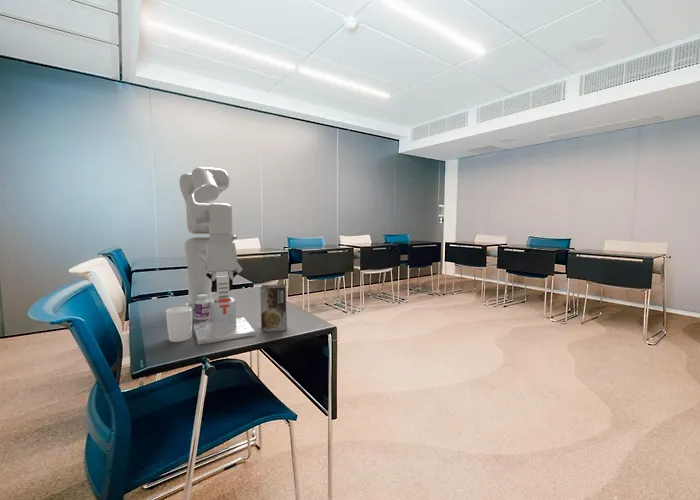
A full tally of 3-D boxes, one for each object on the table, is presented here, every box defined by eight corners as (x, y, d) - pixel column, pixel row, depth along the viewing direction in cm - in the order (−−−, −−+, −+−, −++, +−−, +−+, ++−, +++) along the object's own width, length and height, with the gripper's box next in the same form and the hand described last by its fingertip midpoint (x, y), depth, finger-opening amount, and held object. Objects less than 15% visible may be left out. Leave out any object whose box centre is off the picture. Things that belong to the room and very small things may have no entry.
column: (215, 325, 115) (214, 276, 113) (228, 323, 117) (227, 275, 116) (217, 329, 111) (216, 278, 109) (231, 327, 113) (229, 277, 112)
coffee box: (287, 325, 122) (286, 283, 121) (286, 330, 116) (286, 287, 115) (262, 326, 121) (261, 284, 119) (260, 332, 115) (260, 287, 113)
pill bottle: (204, 321, 126) (203, 297, 125) (192, 320, 127) (191, 296, 126) (212, 317, 131) (212, 294, 130) (201, 316, 132) (200, 293, 131)
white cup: (165, 344, 102) (164, 313, 101) (168, 336, 109) (167, 307, 108) (192, 340, 105) (191, 311, 104) (194, 333, 113) (193, 305, 112)
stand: (193, 328, 118) (192, 294, 117) (244, 321, 127) (243, 290, 125) (197, 344, 102) (196, 306, 101) (254, 335, 111) (254, 300, 110)
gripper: (243, 238, 119) (244, 286, 120) (193, 238, 110) (195, 291, 112) (248, 239, 112) (249, 290, 114) (195, 240, 104) (197, 295, 106)
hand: (222, 290), depth 113 cm, fingers closed on column, 4 cm apart
